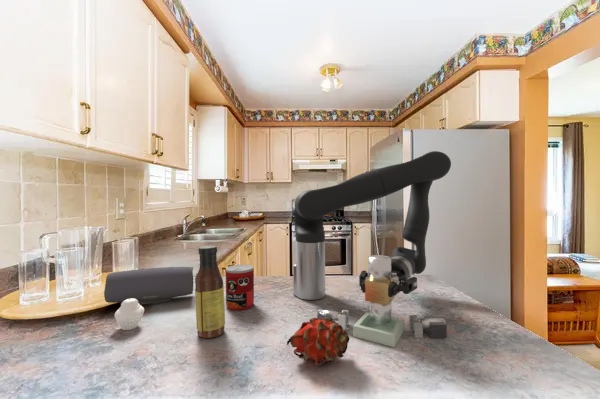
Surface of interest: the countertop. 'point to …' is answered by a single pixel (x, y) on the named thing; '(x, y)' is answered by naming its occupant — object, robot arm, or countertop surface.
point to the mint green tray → (379, 330)
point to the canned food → (239, 287)
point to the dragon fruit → (320, 340)
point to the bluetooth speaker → (149, 284)
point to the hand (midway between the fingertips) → (376, 290)
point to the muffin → (129, 314)
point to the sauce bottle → (209, 295)
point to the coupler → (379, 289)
